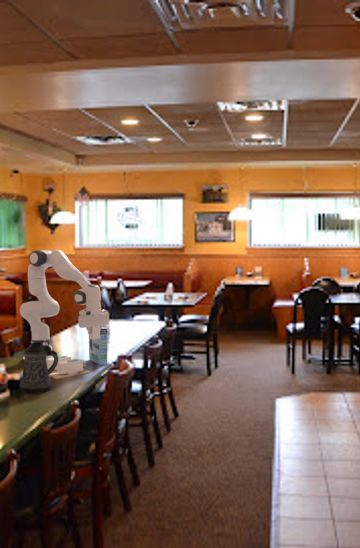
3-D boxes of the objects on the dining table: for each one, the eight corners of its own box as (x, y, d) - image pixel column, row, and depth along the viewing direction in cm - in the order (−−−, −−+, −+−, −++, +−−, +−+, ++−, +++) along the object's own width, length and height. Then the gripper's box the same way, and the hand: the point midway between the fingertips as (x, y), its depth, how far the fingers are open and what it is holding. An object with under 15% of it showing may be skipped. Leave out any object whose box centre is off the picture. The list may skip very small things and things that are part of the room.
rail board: (39, 373, 374) (39, 359, 373) (72, 367, 387) (72, 353, 387) (55, 379, 358) (55, 364, 358) (89, 372, 372) (89, 358, 371)
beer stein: (13, 390, 335) (12, 343, 333) (45, 383, 349) (44, 338, 347) (30, 395, 323) (29, 347, 321) (62, 388, 337) (61, 342, 335)
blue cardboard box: (89, 359, 409) (88, 324, 407) (96, 359, 411) (95, 324, 410) (100, 365, 392) (99, 329, 390) (108, 364, 394) (107, 328, 393)
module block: (88, 338, 386) (88, 325, 386) (95, 337, 390) (95, 324, 389) (93, 339, 382) (92, 326, 382) (100, 338, 386) (99, 325, 385)
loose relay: (75, 367, 388) (75, 362, 387) (82, 365, 393) (81, 361, 392) (80, 368, 386) (80, 363, 385) (86, 366, 390) (86, 361, 390)
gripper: (105, 308, 394) (105, 330, 395) (76, 312, 381) (77, 334, 382) (110, 309, 389) (111, 332, 390) (82, 313, 376) (82, 336, 377)
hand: (94, 333), depth 386 cm, fingers closed on module block, 5 cm apart
